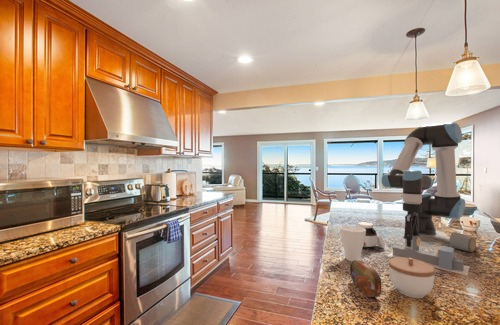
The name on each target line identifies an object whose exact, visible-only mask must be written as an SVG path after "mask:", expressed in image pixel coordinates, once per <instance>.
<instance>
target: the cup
mask: <svg viewBox="0 0 500 325" xmlns="http://www.w3.org/2000/svg"><path fill="white" fill-rule="evenodd" d="M339 230H340V232H339V233H340V236H341V242H342V245H343V250H344V255H345V259H346V261H349V262H352V261H354V260H356V261H362V260H361V258H362V251H363V245H364V240H365V235H366V229H365V228H362V227H358V225H341V226H340V227H339Z"/></svg>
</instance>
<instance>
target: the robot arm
mask: <svg viewBox="0 0 500 325" xmlns="http://www.w3.org/2000/svg"><path fill="white" fill-rule="evenodd" d="M462 142H463V132H462V129H461V127H460V125H459V124H458V123H457V122H454V121H450V122H442V123H441V122H440V123H439V122H438V123H432V124H424V125H420V126H419V127H417V128H415V129H414V130H412V131H411V132H410V133H409V134H407V136H406V138H405V140H404V142H403V143H404V145H403V147H402V149H401V152H400V153H399V155H398V156H397V159H396V161H395V162H394V165H393V166H392V168H391V170H390V172H388V173H384V174H383V175H382V176H381V179H380V180H381V181H380V182H381V184H382V186H383V187H384V188H389V189H402V194H401V197H402V211H404V212H407V214H406V215H405V216H404V220H405V222H404V235H403V239H406V248H408V249H413V240H412V237H413V236H417V237H420V236H421V234H422V235H434V234H436V232H437V230H436V226H435V224H434V221H433V217H439V218H444V219H449V220H450V219H454V220H459V219H461V218H462V217H463V215H464V214H465V213H464V212H465V210H466V200H465V198H461V194H460V193H459V192H458V191H457V175H456V174H457V172H456V151H455V150H456V149H457V148H458V147H459V144H460V143H462ZM425 145H428V146H429V145H431V148H432V149H433V150H434V153H435V170H436V188H437V189H436V192H434V194H432V193H429V192H428V193H427V192H426V193H424V192H423V191H427V190H430V189H431V188H433V185H434V179H433V178H432V177H431V176H430V175H427V174H422V171H421V170H416V169H415V170H413V169H412V170H410V168H411V166H412V164H413V163H414V160H415V158H416V156H417V154H418V152H419V150H421V149H422V148H423V147H424V146H425ZM422 192H423V193H422Z"/></svg>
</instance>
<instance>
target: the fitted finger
mask: <svg viewBox="0 0 500 325" xmlns="http://www.w3.org/2000/svg"><path fill="white" fill-rule="evenodd" d="M437 255H438V257H439V268H443V269H447V270H451V271H452V260H453V258H455V248H452V247H451V246H445V245H441V246H439V247H438V248H437ZM439 268H438V269H439ZM443 269H442V270H443ZM447 270H446V271H447ZM451 271H450V272H451Z"/></svg>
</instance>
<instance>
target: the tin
mask: <svg viewBox="0 0 500 325" xmlns="http://www.w3.org/2000/svg"><path fill="white" fill-rule="evenodd" d="M349 272H350V278H351V280H352V283H353V284H354V285H355V287H356V288H358V290H360V291H361V292H362V293H363V294H364V295H365V296H366V297H367V298H378V297H380V296H381V294H382V286H383V285H382V284H383V283H382V279H381V276H380V274H379V273H378V271H377V270H376V269H374V268H373V267H372V266H370V265H368V264H367V263H366V262H364V261H362V260H360V261H356V260H354V261H351V263H350V267H349Z"/></svg>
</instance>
